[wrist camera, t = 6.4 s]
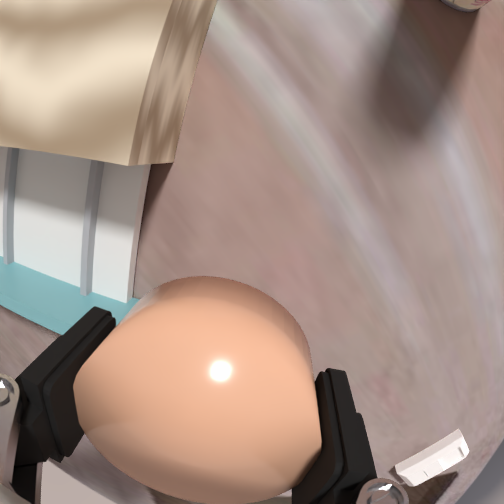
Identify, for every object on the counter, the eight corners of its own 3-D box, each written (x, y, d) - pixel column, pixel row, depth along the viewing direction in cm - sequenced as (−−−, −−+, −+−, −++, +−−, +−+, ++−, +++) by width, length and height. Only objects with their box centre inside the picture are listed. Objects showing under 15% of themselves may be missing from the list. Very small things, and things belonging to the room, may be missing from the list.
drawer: (4, 87, 21) (-42, 82, 15) (187, 95, 21) (155, 75, 14) (-10, 255, 26) (-51, 274, 20) (148, 315, 26) (116, 357, 20)
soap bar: (394, 463, 30) (398, 478, 28) (457, 426, 28) (465, 440, 26) (405, 476, 31) (410, 490, 29) (464, 442, 29) (471, 455, 27)
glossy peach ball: (129, 252, 9) (62, 300, 6) (340, 306, 9) (367, 381, 6) (122, 401, 11) (86, 464, 8) (279, 443, 11) (276, 516, 8)
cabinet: (46, -25, 17) (3, -49, 10) (233, -43, 17) (217, -98, 10) (-3, 136, 23) (-59, 140, 15) (173, 162, 22) (127, 166, 15)
